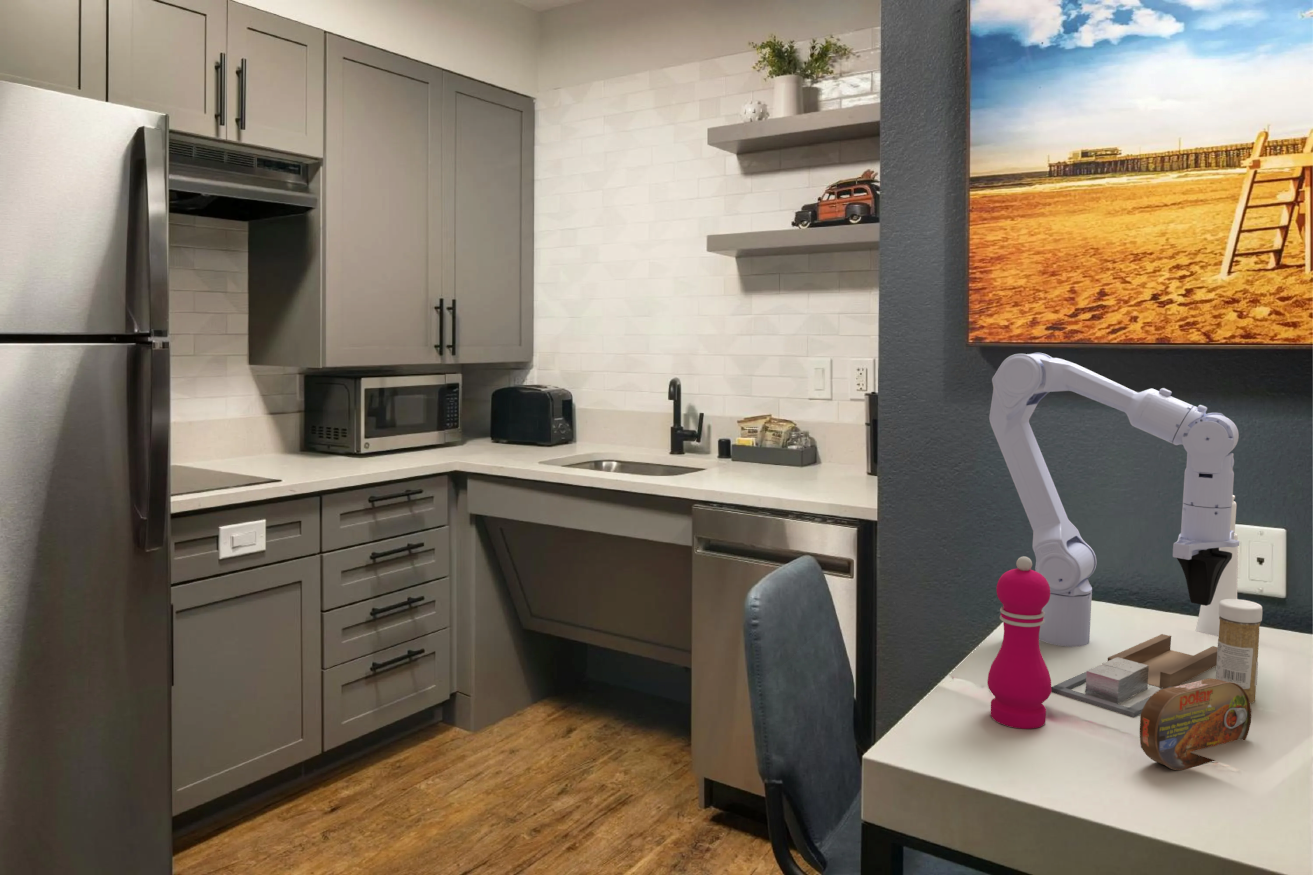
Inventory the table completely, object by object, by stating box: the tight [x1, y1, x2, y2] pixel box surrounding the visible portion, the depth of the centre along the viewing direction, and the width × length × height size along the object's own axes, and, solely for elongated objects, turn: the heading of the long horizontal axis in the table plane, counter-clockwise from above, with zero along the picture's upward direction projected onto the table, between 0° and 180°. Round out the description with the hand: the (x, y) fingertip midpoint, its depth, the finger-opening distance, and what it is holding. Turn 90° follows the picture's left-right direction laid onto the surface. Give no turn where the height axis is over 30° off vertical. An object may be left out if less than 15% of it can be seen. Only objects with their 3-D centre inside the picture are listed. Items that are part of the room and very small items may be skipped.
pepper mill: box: [987, 556, 1052, 730], centre depth 114 cm, size 7×7×20 cm
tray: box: [1051, 670, 1172, 718], centre depth 120 cm, size 10×12×2 cm
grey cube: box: [1101, 657, 1149, 697], centre depth 121 cm, size 4×4×4 cm
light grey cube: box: [1084, 663, 1134, 704], centre depth 118 cm, size 4×4×4 cm
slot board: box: [1107, 633, 1218, 689], centre depth 128 cm, size 8×16×4 cm, turn 129°
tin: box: [1139, 677, 1252, 771], centre depth 104 cm, size 15×3×8 cm, turn 114°
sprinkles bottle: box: [1215, 598, 1263, 704], centre depth 118 cm, size 5×5×13 cm
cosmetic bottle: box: [1194, 494, 1239, 638], centre depth 145 cm, size 6×6×22 cm
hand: (1200, 603), depth 129 cm, fingers closed
